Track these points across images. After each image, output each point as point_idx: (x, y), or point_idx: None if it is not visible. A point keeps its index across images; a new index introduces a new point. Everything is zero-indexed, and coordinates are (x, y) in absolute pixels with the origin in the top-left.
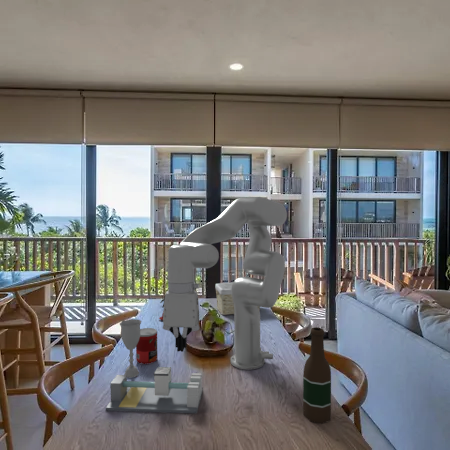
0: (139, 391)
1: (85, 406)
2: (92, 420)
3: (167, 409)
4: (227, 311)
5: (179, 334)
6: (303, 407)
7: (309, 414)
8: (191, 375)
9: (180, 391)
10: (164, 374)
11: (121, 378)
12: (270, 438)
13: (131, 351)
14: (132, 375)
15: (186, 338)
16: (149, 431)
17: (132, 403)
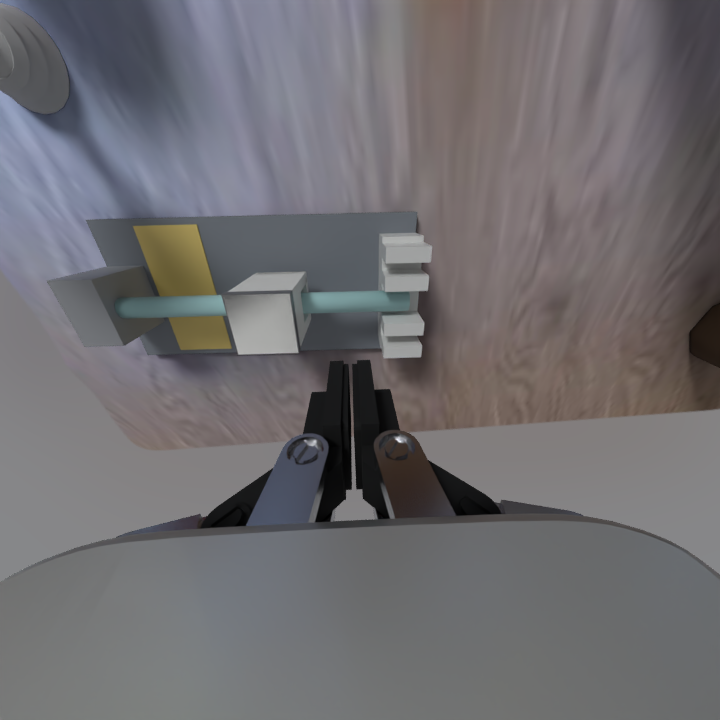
0: (188, 263)
1: (78, 338)
2: (154, 387)
3: (325, 349)
4: None
5: (339, 494)
6: (715, 343)
7: (707, 358)
8: (385, 262)
9: (336, 248)
10: (284, 352)
11: (95, 310)
12: (564, 406)
13: None
14: (50, 101)
15: (397, 425)
16: None
17: (210, 332)
